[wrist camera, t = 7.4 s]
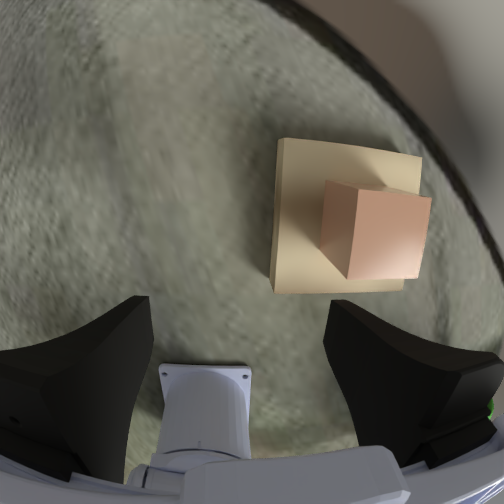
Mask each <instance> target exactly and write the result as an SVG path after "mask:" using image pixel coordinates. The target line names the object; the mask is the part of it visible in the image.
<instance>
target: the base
mask: <svg viewBox="0 0 504 504" xmlns="http://www.w3.org/2000/svg"><path fill="white" fill-rule="evenodd" d="M421 165H422V158H420V157H416V156H411V155H406V154H401V153H396V152H391V151H385V150H379V149H373V148H367V147H361V146H354V145H347V144H340V143H332V142H324V141H315V140H305V139H294V138H282V139H279V140H278V142H277V162H276V180H275V198H274V215H273V231H272V247H271V262H270V276H269V280H270V283H271V286H272V289H273V292H274V294H300V293H352V292H381V291H402V288H403V284H404V279H370V280H347V279H346V278H345V277H344V276H343V275H342V274H341V273H340V272H339V271H338V269H337V268H336V267H335V266H334V265H333V264H332V263H331V262H330V261H329V260H328V259H327V258H326V257H325V256H324V254H323V253H322V252H321V251H320V250H319V246H320V237H321V227H322V217H323V206H324V194H325V181H326V180H331V181H342V182H352V183H361V184H370V185H379V186H387V187H391V188H395V189H399V190H403V191H407V192H411V193H415V194H418V195H419V187H420V177H421Z"/></svg>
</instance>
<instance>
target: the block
mask: <svg viewBox="0 0 504 504" xmlns="http://www.w3.org/2000/svg"><path fill="white" fill-rule="evenodd" d="M431 199H432V198H429V197H426V196H422V195H418V194H415V193H411V192H407V191H403V190H399V189H395V188H391V187H387V186H379V185H370V184H361V183H352V182H342V181H331V180H326V181H325V194H324V206H323V217H322V227H321V237H320V246H319V250H320V251H321V252H322V253H323V254H324V256H325V257H326V258H327V259H328V260H329V261H330V262H331V263H332V264H333V265H334V266H335V267H336V268H337V269H338V271H339V272H340V273H341V274H342V275H343V276H344V277H345V278H346V279H347V280H370V279H413V278H418V274H419V270H420V265H421V260H422V255H423V250H424V245H425V240H426V234H427V228H428V221H429V215H430V207H431Z"/></svg>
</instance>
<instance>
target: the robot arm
mask: <svg viewBox="0 0 504 504" xmlns="http://www.w3.org/2000/svg"><path fill="white" fill-rule="evenodd" d="M153 342H154V336H153V329H152V321H151V312H150V303H149V296H135V295H134V296H132V297H130V298H128V299H127V300H125V301H124V302H122V303H121V304H119V305H117V306H116V307H114V308H113V309H111V310H110V311H108V312H107V313H105V314H104V315H102V316H100V317H98V318H97V319H95V320H93V321H92V322H90V323H88V324H86V325H85V326H83V327H81V328H79V329H77V330H75V331H72V332H70V333H68V334H66V335H63V336H60V337H58V338H55V339H52V340H49V341H46V342H43V343H40V344H36V345H32V346H27V347H23V348H17V349H11V350H2V351H0V504H483V503H485V502H486V501H488V500H489V499H491V498H492V497H493V496H495V495H496V494H498V493H499V492H500V491H501V490H503V489H504V413H503V414H502V415H500V416H498V417H497V418H496V419H494V420H493V421H492V422H491V421H490V419H489V418H488V416H490V414H491V410H490V409H489V408H488V407H487V405H488V404H489V402H490V401H491V399H492V397H493V396H494V394H495V392H496V391H497V389H498V387H499V386H500V384H501V382H502V380H503V377H504V362H503V361H502V360H501V359H500V358H499V357H498V356H497V355H496V354H494V353H493V352H483V351H472V350H465V349H459V348H454V347H450V346H445V345H442V344H438V343H435V342H431V341H428V340H425V339H422V338H420V337H417V336H415V335H412V334H410V333H408V332H405V331H403V330H401V329H399V328H397V327H395V326H393V325H391V324H389V323H387V322H385V321H384V320H382V319H380V318H378V317H376V316H375V315H373V314H371V313H370V312H368V311H366V310H364V309H363V308H361V307H359V306H357V305H356V304H354V303H352V302H350V301H347V300H331V304H330V309H329V315H328V320H327V325H326V329H325V334H324V339H323V344H324V347H325V351H326V355H327V358H328V361H329V364H330V366H331V368H332V371H333V373H334V375H335V377H336V379H337V382H338V384H339V386H340V388H341V390H342V393H343V395H344V397H345V399H346V402H347V404H348V407H349V410H350V413H351V416H352V420H353V423H354V427H355V430H356V435H357V439H358V443H359V447H353V448H348V449H342V450H336V451H330V452H324V453H316V454H308V455H299V456H289V457H276V458H258V459H251V452H250V442H249V432H248V420H249V404H250V387H251V368H250V367H248V366H208V365H182V364H160V366H159V375H160V381H161V386H162V391H163V396H164V401H165V407H164V413H163V418H162V423H161V428H160V434H159V439H158V445H157V451H156V453H152V456H151V462H150V468H149V465H146V464H139V465H138V467H136V468H134V469H133V470H132V471H131V472H130V474H129V477H128V480H127V484H126V485H124V484H123V481H124V466H125V456H126V447H127V440H128V433H129V427H130V422H131V417H132V411H133V408H134V404H135V401H136V398H137V395H138V392H139V389H140V386H141V383H142V380H143V378H144V375H145V372H146V369H147V366H148V363H149V360H150V356H151V352H152V347H153ZM163 372H165V373H167V374H164V373H163ZM243 375H247V376H243Z"/></svg>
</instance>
